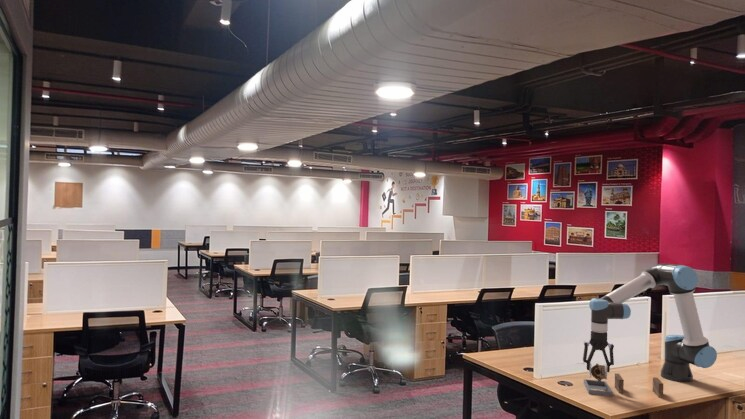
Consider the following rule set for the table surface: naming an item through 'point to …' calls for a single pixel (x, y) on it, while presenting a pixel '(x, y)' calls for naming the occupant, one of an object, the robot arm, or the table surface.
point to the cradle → (656, 385)
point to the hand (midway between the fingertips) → (597, 377)
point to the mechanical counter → (598, 372)
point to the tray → (598, 387)
